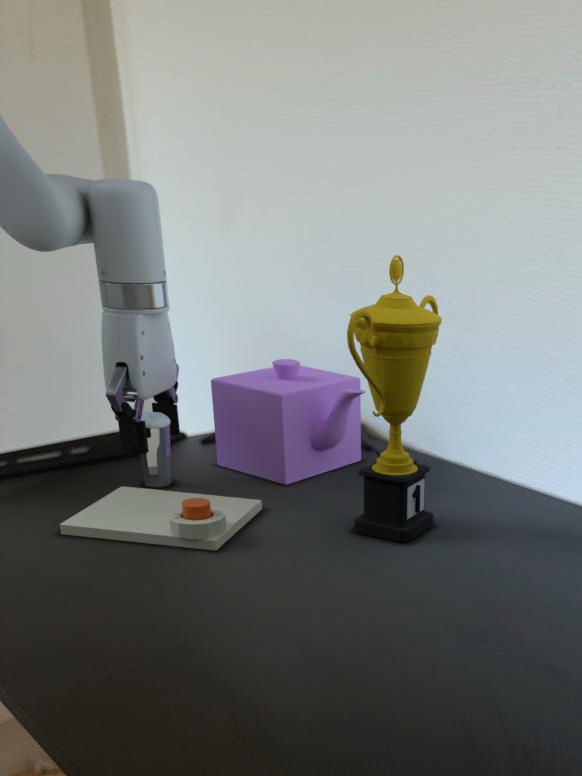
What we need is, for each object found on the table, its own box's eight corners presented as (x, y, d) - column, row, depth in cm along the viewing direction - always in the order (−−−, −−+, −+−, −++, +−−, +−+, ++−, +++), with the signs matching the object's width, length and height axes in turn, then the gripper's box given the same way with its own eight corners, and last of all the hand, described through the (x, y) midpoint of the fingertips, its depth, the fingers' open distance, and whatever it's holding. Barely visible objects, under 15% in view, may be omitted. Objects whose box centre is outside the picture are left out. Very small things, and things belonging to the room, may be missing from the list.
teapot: (326, 496, 118) (324, 385, 112) (193, 457, 130) (183, 355, 124) (400, 470, 130) (401, 368, 123) (271, 437, 141) (266, 342, 135)
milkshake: (128, 488, 117) (118, 409, 113) (151, 476, 122) (143, 400, 117) (161, 493, 116) (152, 413, 112) (183, 480, 121) (175, 404, 116)
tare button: (178, 520, 101) (176, 505, 100) (190, 511, 103) (188, 496, 103) (204, 523, 100) (203, 507, 100) (215, 514, 103) (214, 499, 102)
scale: (58, 535, 102) (54, 510, 101) (122, 495, 115) (119, 471, 114) (214, 552, 100) (212, 526, 99) (262, 509, 113) (260, 485, 112)
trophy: (390, 564, 100) (392, 265, 86) (314, 546, 103) (304, 256, 89) (466, 512, 115) (478, 253, 102) (397, 499, 119) (400, 246, 105)
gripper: (139, 286, 117) (155, 424, 125) (64, 304, 101) (88, 460, 109) (196, 290, 116) (208, 429, 124) (129, 308, 100) (148, 465, 109)
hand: (152, 442), depth 117 cm, fingers open, 8 cm apart
